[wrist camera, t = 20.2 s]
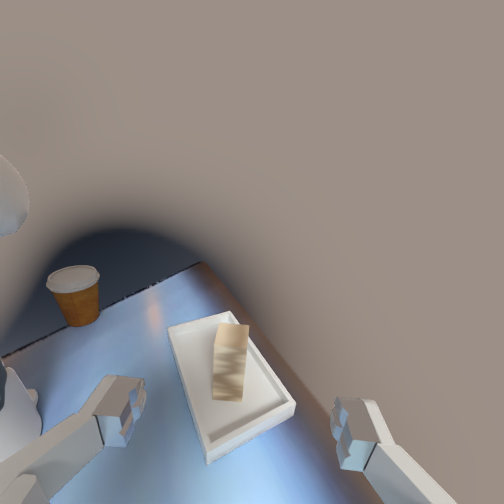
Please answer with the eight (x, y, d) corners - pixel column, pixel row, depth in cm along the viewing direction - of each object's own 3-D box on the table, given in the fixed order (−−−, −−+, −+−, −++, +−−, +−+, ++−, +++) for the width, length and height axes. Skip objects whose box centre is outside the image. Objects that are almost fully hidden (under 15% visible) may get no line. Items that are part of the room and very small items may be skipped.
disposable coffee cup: (79, 304, 61) (69, 262, 56) (115, 308, 60) (107, 266, 56) (47, 329, 52) (31, 282, 47) (88, 334, 51) (77, 287, 47)
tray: (168, 338, 52) (167, 327, 51) (229, 320, 59) (230, 310, 58) (206, 465, 32) (206, 452, 31) (293, 415, 39) (296, 403, 38)
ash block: (212, 399, 39) (213, 344, 35) (217, 373, 44) (219, 322, 39) (241, 402, 39) (247, 348, 35) (244, 376, 44) (249, 325, 39)
